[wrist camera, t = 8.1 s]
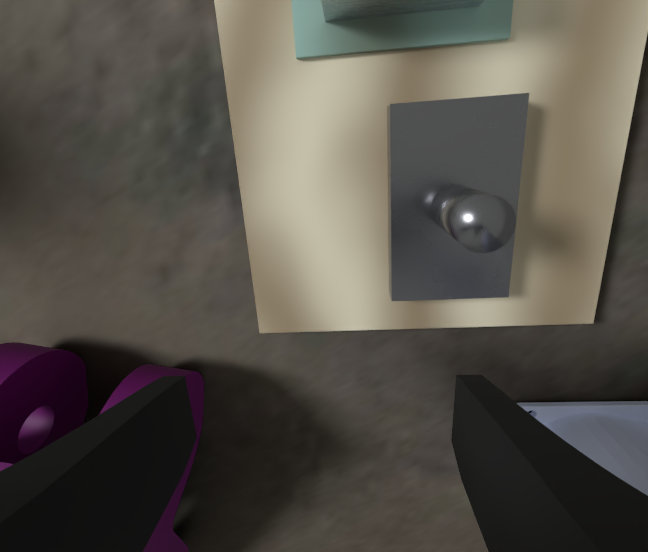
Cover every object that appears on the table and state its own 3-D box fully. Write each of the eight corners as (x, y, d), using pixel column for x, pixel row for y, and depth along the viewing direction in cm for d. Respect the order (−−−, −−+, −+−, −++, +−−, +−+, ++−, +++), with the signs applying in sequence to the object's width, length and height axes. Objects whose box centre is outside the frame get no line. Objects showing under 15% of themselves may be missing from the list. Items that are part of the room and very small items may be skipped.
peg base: (515, 97, 14) (593, 71, 10) (498, 287, 17) (553, 338, 12) (386, 107, 15) (404, 87, 10) (388, 291, 17) (403, 342, 13)
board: (678, -252, 12) (716, -299, 11) (580, 314, 18) (597, 326, 17) (198, -180, 13) (182, -214, 12) (264, 324, 20) (258, 335, 18)
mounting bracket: (225, 464, 31) (193, 341, 18) (186, 595, 25) (99, 552, 12) (115, 445, 31) (6, 311, 18) (50, 572, 25) (-179, 505, 12)
